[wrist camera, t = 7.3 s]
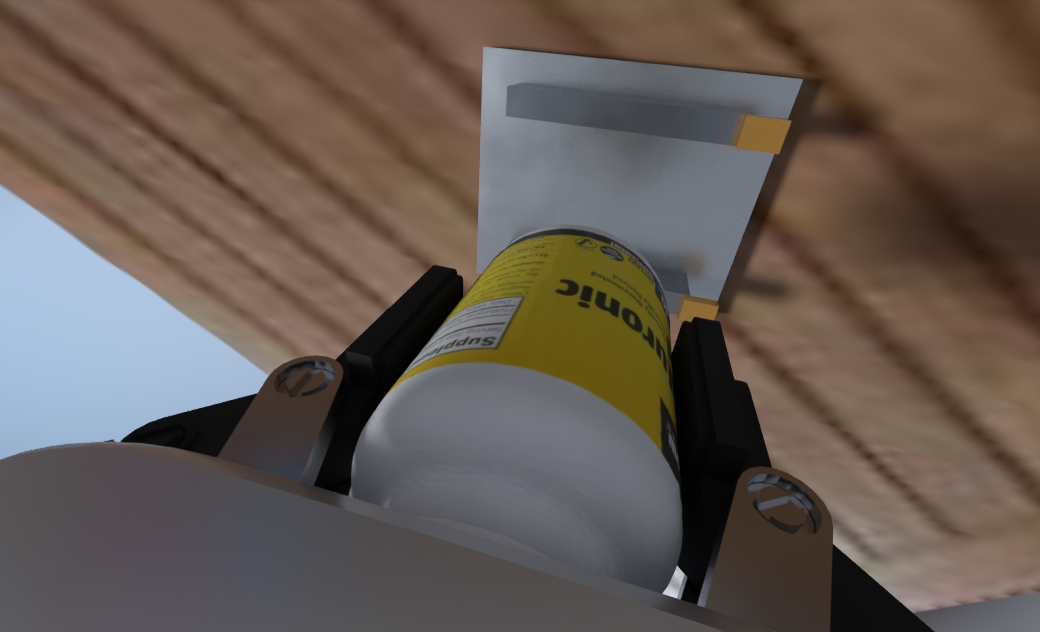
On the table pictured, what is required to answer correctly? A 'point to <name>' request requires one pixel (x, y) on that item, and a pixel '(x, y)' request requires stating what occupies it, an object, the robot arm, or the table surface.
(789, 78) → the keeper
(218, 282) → the table surface
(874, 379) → the table surface
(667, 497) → the supplement bottle
